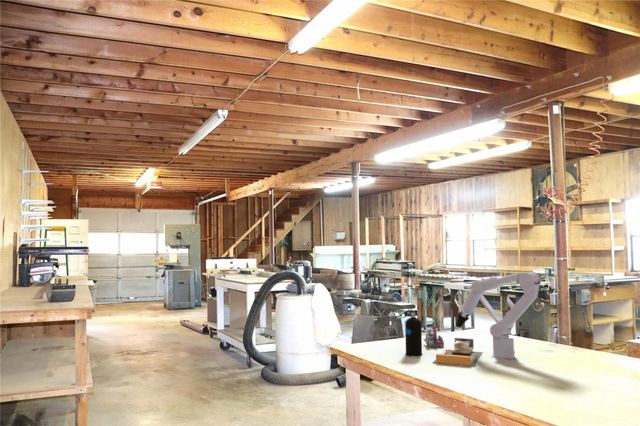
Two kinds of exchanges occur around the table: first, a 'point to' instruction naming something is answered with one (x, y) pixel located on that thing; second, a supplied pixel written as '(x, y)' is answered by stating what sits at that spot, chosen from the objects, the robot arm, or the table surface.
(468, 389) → the table surface
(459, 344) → the grey beige angular piece
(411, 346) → the aerosol can
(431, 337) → the brake caliper
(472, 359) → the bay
